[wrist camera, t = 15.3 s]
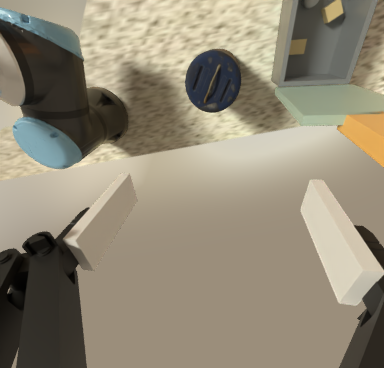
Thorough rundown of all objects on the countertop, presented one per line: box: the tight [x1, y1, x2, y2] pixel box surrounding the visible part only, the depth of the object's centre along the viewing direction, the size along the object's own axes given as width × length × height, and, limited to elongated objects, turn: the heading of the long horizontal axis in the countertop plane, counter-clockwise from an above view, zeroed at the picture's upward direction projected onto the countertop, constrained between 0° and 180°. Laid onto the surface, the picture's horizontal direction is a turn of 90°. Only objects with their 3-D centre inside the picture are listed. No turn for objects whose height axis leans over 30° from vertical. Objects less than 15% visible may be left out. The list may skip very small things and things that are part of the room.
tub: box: [271, 0, 378, 87], centre depth 35 cm, size 12×18×9 cm, turn 4°
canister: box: [185, 49, 241, 113], centre depth 39 cm, size 10×10×18 cm
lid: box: [275, 84, 384, 167], centre depth 25 cm, size 13×30×2 cm
